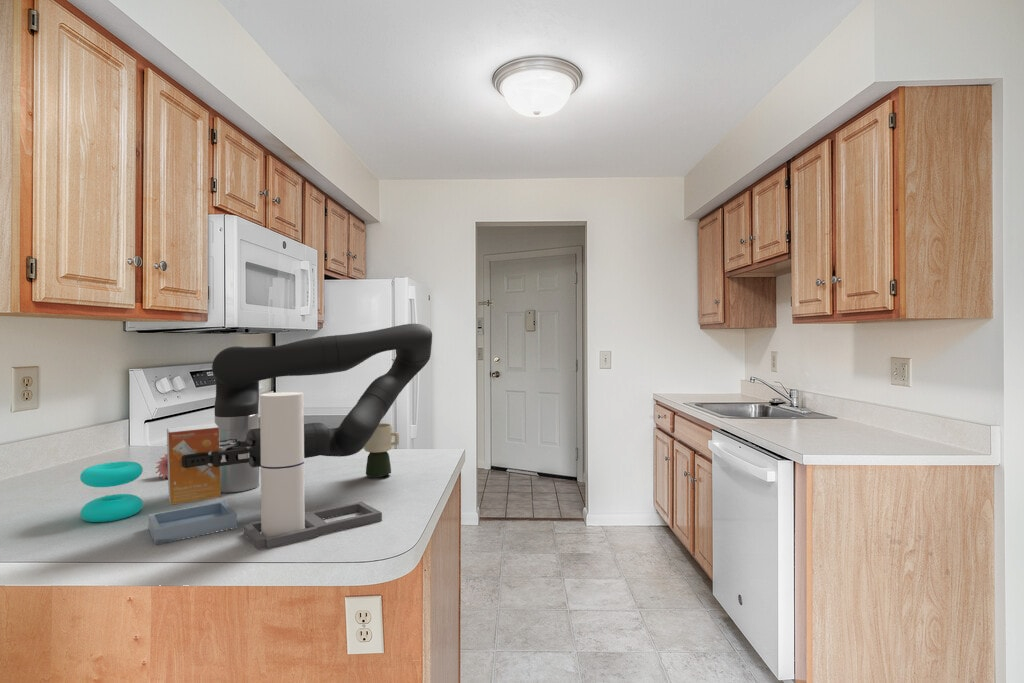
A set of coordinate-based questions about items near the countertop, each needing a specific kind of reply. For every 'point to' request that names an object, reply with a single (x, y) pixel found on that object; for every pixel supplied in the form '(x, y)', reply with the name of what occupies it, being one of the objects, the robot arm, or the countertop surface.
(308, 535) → the holder
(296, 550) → the countertop surface
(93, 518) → the donuts
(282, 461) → the cylindrical container
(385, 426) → the character mug
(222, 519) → the tray
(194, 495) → the small box
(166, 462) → the flower
